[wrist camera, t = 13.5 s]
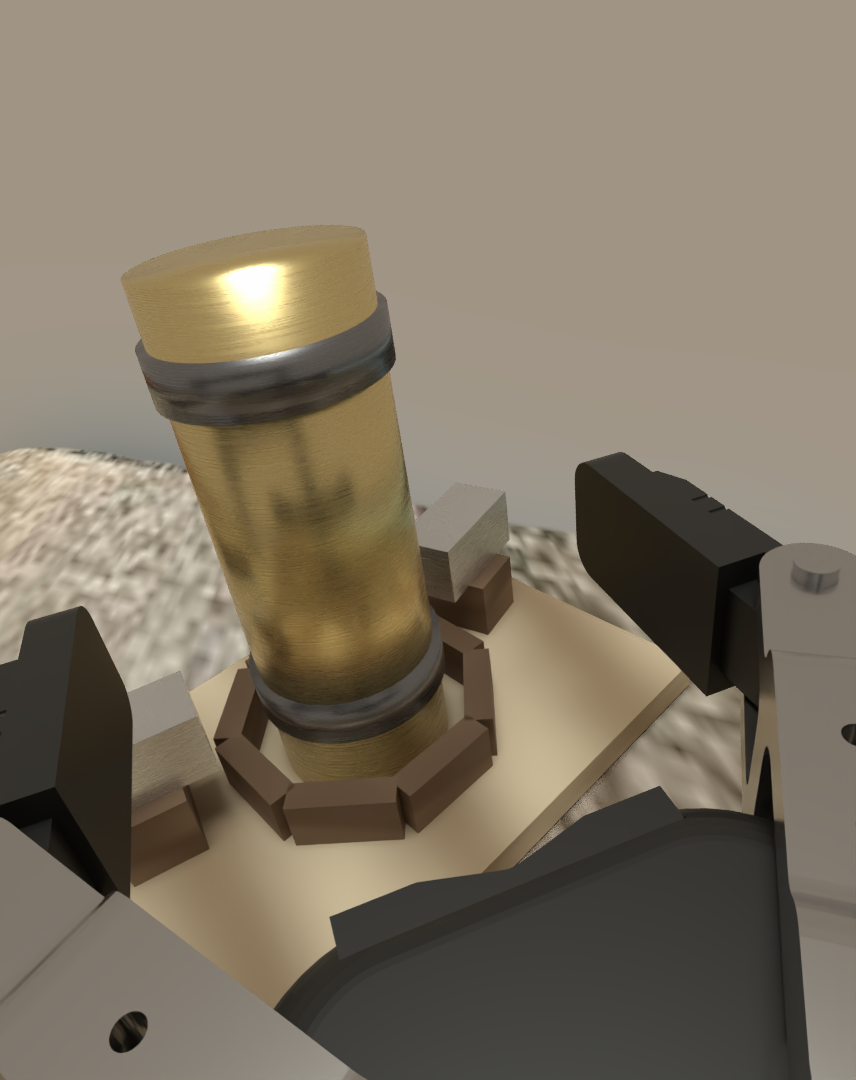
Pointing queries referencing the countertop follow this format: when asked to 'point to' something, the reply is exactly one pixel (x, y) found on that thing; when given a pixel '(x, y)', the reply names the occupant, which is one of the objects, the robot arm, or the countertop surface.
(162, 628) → the countertop surface
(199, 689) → the coupling base
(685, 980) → the robot arm
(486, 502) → the pair of grey blocks
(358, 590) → the cylinder
